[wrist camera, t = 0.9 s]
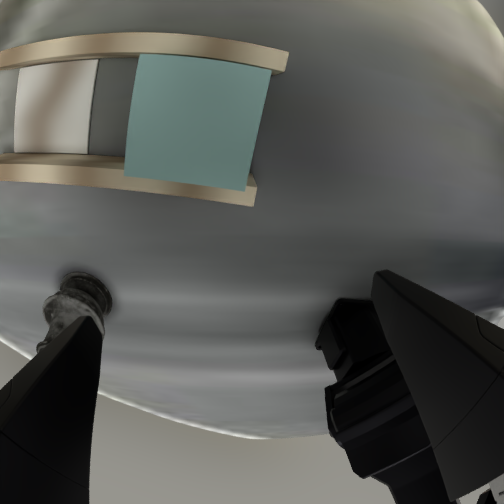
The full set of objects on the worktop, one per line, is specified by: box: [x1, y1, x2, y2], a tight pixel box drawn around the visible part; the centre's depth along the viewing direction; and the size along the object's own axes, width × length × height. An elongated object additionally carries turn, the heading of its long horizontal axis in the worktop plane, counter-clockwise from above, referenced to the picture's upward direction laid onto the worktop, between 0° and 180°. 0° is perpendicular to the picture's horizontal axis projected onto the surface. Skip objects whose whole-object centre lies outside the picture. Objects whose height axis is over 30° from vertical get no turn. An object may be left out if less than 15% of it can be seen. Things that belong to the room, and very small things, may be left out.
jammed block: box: [124, 54, 272, 192], centre depth 14 cm, size 6×6×5 cm
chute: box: [0, 32, 289, 207], centre depth 14 cm, size 20×9×3 cm, turn 78°
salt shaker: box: [36, 272, 112, 353], centre depth 18 cm, size 6×6×12 cm
